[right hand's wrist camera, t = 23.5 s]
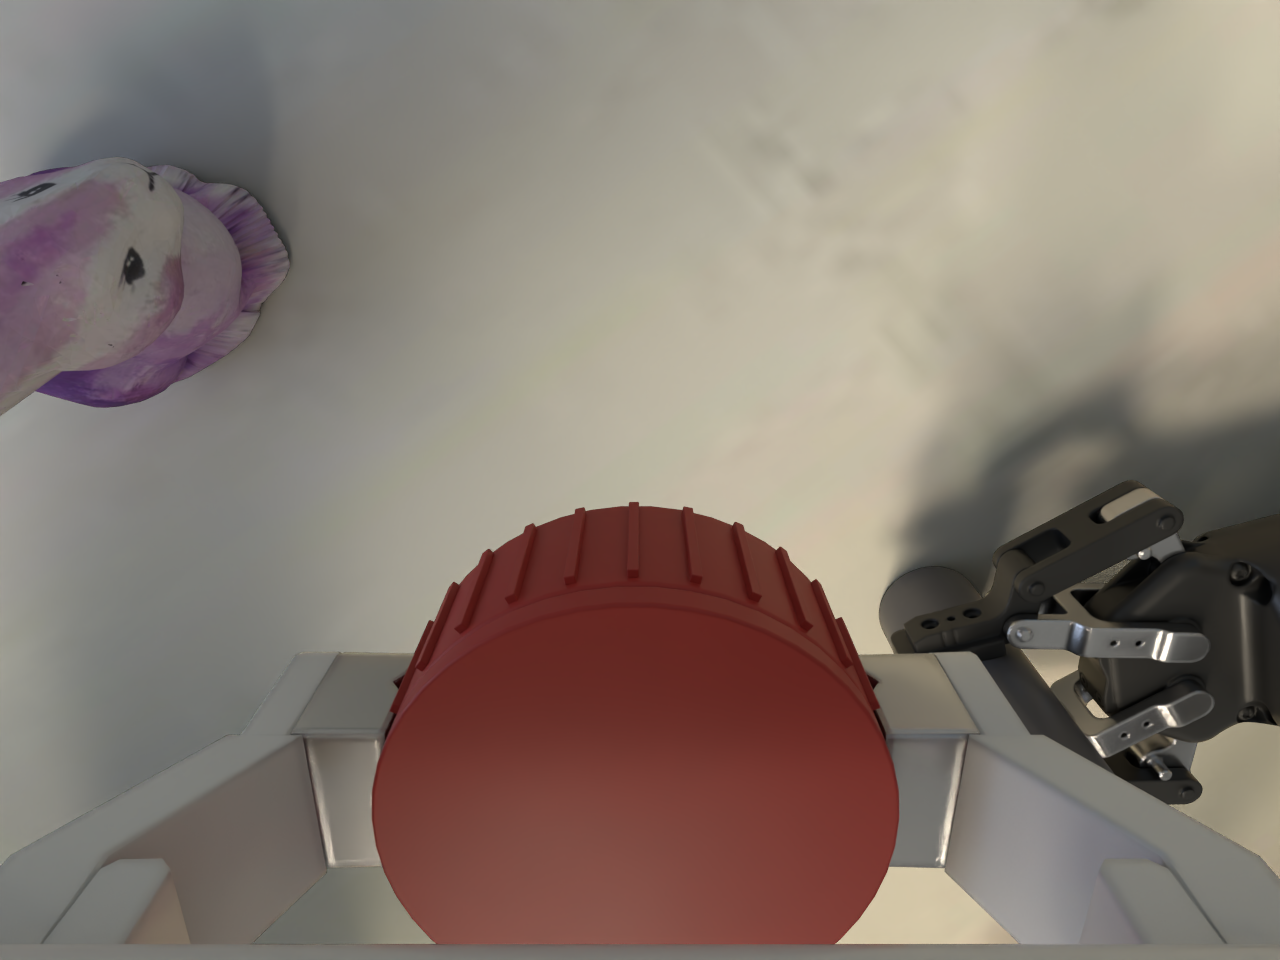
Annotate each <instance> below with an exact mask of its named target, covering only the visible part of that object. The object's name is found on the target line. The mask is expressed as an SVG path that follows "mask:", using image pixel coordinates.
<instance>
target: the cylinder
mask: <svg viewBox="0 0 1280 960" xmlns="http://www.w3.org/2000/svg"><path fill="white" fill-rule="evenodd" d="M980 599H982V597H981V596H980V595H979V593H978V592H977V591H976V589H975V588H974V587H973V585H972V584H971V583H970V581H969V580H968V579H967V578H966V577H964V576H963V575H962V574H960V573H958V572H957V571H954V570H952V569H948V568H944V567H924V568H920V569H916V570H913V571H911V572H909V573H907V574H905V575H903V576H902V577H900V578H899V579H898V580H896V581H895V582H894V583H893V584H892V585H891V586H890V587H889V589H888V590H887V591H886V593H885V595H884V597H883V599H882V601H881V605H880V610H879V620H880V624H881V627H882V630H883V632H884V634H885V636H886V638H887V640H888V642H889V644H890V646H891V648H892V650H893V647H892V643H891V635H892V634H893V633H894V632H896V631H898V630H902V629H904V625H903V624H904V623H906V622H907V621H909V620H911V619H912V618H914V617H916V616H919V615H923V614H927V613H931V612H935V611H942V610H943V609H947V608H951V607H955V606H959V605H962V604H966V603H970V602H974V601H978V600H980ZM1005 648H1006V654H1007V655H1006V656H1002V657H998V658H994V659H990V660H986V661H981V662H982V663H983V665H984V666H985V668H986V669H987V671H988V672H989V674H990V675H991V677H992V678H993V680H994V681H995V683H996V684H997V686H998V687H999V689H1000V690H1001V692H1002V693H1003V695H1004V696H1005V698H1006V699H1007V700H1008V702H1009V703H1010V705H1011V706H1012V708H1013V709H1014V711H1015V712H1016V714H1017V715H1018V717H1019V718H1020V720H1021V721H1022V723H1023V724H1024V726H1025V727H1026V729H1027V730H1028V732H1029V733H1030V735H1045V736H1046V737H1048V738H1050V739H1052V740H1054V741H1055V742H1057V743H1059V744H1061V745H1062V746H1064V747H1066V748H1068V749H1070V750H1071V751H1073V752H1075V753H1077V754H1078V755H1080V756H1082V757H1084V758H1086V759H1087V760H1089V761H1091V762H1093V763H1094V764H1096V765H1098V766H1100V767H1102V768H1103V769H1105V770H1107V771H1109V772H1111V773H1112V774H1114V773H1113V771H1112V770H1111V769H1110V767H1109V766H1108V765H1107V763H1106V762H1105V761H1104V759H1103V758H1102V757H1101V755H1100V754H1099V753H1098V751H1097V750H1096V749H1095V747H1094V746H1093V745H1092V743H1091V742H1090V741H1089V739H1088V738H1087V737H1086V736H1085V734H1084V733H1083V732H1082V730H1081V729H1080V728H1079V726H1078V725H1077V724H1076V722H1075V721H1074V720H1073V718H1072V717H1071V716H1070V714H1069V713H1068V712H1067V710H1066V709H1065V708H1064V706H1063V705H1062V704H1061V702H1060V701H1059V700H1058V698H1057V697H1056V696H1055V694H1054V693H1053V692H1052V690H1051V689H1050V688H1049V686H1048V685H1047V684H1046V682H1045V681H1044V680H1043V678H1042V677H1041V676H1040V674H1039V673H1038V672H1037V670H1036V669H1035V668H1034V666H1033V665H1032V664H1031V662H1030V661H1029V660H1028V658H1027V657H1026V656H1025V654H1024V653H1023V652H1022V650H1021V649H1019V648H1015V647H1013V646H1012V645H1011V644H1010V643H1009V644H1005ZM1114 775H1115V774H1114Z"/></svg>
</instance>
